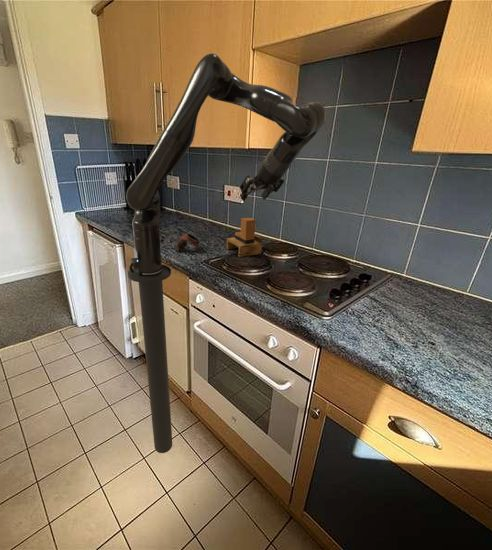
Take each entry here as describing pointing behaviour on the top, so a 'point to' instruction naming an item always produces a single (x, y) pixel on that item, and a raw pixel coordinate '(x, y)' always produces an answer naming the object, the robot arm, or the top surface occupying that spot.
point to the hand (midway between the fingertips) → (252, 198)
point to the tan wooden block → (246, 246)
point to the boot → (246, 231)
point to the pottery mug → (183, 242)
